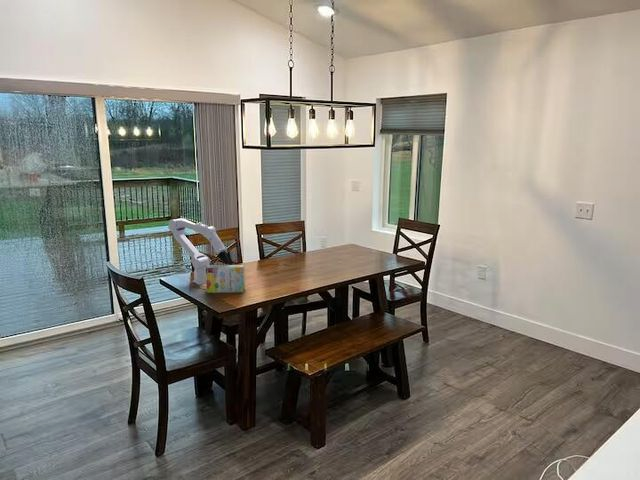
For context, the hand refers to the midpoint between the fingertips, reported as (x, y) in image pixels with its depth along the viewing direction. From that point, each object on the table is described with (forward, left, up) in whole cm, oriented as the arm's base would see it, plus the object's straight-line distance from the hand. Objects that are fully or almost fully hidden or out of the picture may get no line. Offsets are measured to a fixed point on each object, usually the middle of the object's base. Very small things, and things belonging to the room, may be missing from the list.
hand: (229, 263), depth 268 cm
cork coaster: (-9, -10, -14) cm, 20 cm away
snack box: (+5, -5, -15) cm, 16 cm away
